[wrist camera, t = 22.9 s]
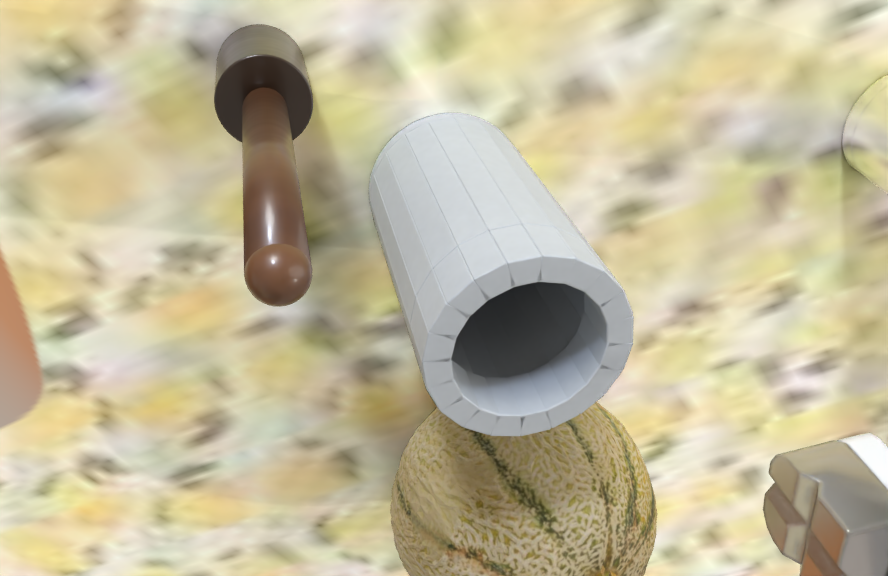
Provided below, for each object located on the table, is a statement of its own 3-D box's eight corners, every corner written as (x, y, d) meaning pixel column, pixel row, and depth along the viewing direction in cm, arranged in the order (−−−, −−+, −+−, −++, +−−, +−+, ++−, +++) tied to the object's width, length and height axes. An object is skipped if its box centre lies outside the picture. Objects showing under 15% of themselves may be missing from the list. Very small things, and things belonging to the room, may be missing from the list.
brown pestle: (206, 31, 37) (180, 238, 20) (295, 17, 37) (342, 207, 21) (229, 116, 39) (222, 367, 22) (312, 101, 39) (367, 335, 23)
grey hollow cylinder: (356, 128, 41) (409, 282, 28) (516, 99, 42) (636, 235, 29) (381, 269, 45) (436, 456, 32) (525, 240, 46) (632, 410, 33)
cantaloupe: (331, 470, 52) (360, 690, 39) (459, 292, 47) (539, 478, 34) (513, 530, 58) (588, 734, 46) (642, 378, 53) (766, 561, 41)
